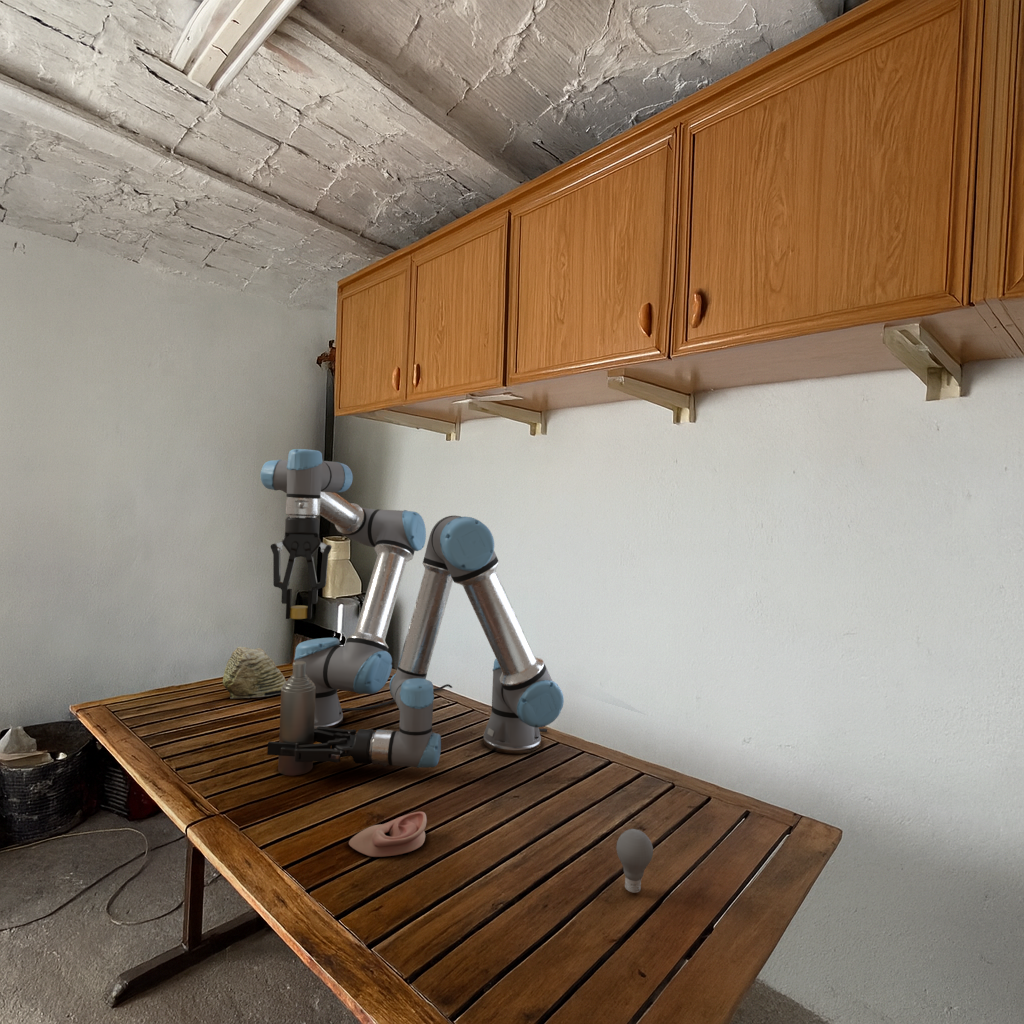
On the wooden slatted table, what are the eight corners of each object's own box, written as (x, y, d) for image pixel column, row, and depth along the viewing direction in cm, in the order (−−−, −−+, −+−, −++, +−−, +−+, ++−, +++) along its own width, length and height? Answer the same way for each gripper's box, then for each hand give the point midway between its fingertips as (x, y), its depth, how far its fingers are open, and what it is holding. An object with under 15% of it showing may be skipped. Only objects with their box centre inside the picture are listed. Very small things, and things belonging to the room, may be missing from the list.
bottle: (278, 763, 149) (282, 659, 149) (312, 760, 152) (316, 657, 151) (277, 777, 142) (281, 667, 142) (313, 773, 145) (317, 666, 144)
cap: (287, 618, 144) (287, 608, 144) (292, 615, 148) (293, 605, 148) (305, 619, 144) (305, 608, 144) (310, 616, 148) (310, 605, 148)
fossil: (218, 695, 195) (220, 647, 195) (278, 685, 208) (279, 640, 207) (228, 703, 189) (230, 653, 188) (289, 692, 201) (290, 645, 201)
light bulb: (610, 879, 108) (613, 822, 108) (644, 879, 109) (647, 822, 109) (619, 902, 102) (622, 840, 102) (655, 901, 103) (658, 840, 103)
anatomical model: (341, 830, 113) (368, 800, 124) (340, 851, 113) (367, 820, 124) (411, 841, 110) (433, 810, 122) (411, 863, 111) (432, 830, 122)
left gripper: (260, 515, 140) (256, 620, 141) (340, 518, 144) (336, 621, 144) (266, 514, 148) (262, 614, 148) (341, 517, 151) (338, 615, 152)
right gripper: (360, 782, 136) (255, 776, 137) (383, 745, 156) (292, 740, 157) (361, 748, 136) (256, 741, 137) (384, 715, 156) (293, 710, 157)
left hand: (298, 617), depth 146 cm, fingers closed on cap, 4 cm apart
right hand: (275, 741), depth 147 cm, fingers closed on bottle, 8 cm apart
